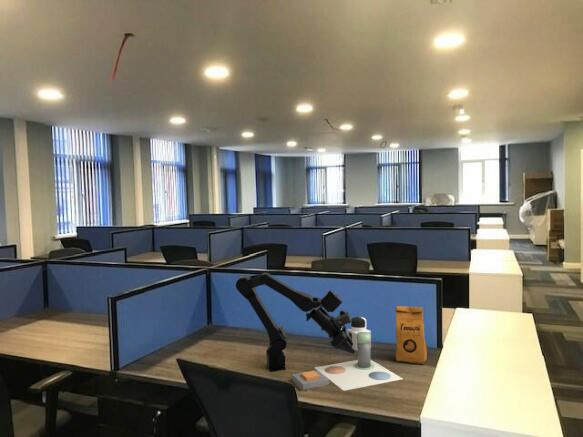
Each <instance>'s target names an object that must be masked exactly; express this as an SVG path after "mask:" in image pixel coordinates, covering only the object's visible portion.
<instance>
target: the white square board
mask: <svg viewBox="0 0 583 437" xmlns="http://www.w3.org/2000/svg"><path fill="white" fill-rule="evenodd" d="M314 369H315V370H318V371H319V372H320V373H322V374H323V375H324V376H325V377H327V378H328V379H329V381H331V382H332V383H333V384H334V385H336V386H337V387H338V388H339V389H341V390H342V391H343V392H344V391H350V390H355V389H359V388H360V389H361V388H364V387H365V388H366V387H372V386H375V385H380V384H384V383H390V382H394V381H399V380H403V379H404V378H402V377H401V376H399V375H397V374H396V373H394V372H392V371H390V370H389V369H388V368H386V367H384V366H382V365H381V364H379V363H377V362H375V361H373V360H372V359H371V367H369V368H360V367H358V359H356V360H351V361H349V360H348V361H344V362H338V363H333V364H327V365H322V366H321V365H320V366H316V367H315V366H314Z"/></svg>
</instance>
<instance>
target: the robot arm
mask: <svg viewBox="0 0 583 437" xmlns="http://www.w3.org/2000/svg"><path fill="white" fill-rule="evenodd" d="M235 282H236V283H235V289H236V290H237V292H238V293H240V294H241V296H242V297H243V298H245V299H246V300H247V301H248V302H249V304H250V306H251V307H252V308H253V310H254V312H255V313H256V315H257V317H258V318H259V320H260V322H261V324H262V325H263V328H265V330H266V333H267V336H268V339H269V343H268V345H267V347H266V364H265V366H264V367H265V368H266V369H267V370H268V371H269V372H276V371H282V370H286V369H287V367H286V355H285V352H284V350H285V349H286V348H287V345H288V340H289V338H288V332H286V330H285V328H284V326H283V325H281V326H278V325H277V323H275V321H274V319H273V318H272V316H271V314H270V313H269V311H268V309H267V307H266V306H265V304H264V303H263V301H262V300H261V297H260V296H259V294H258V292H257V289H256V288H257V287H260V286H267V287H268V288H270V289H271V290H273V291H274V292H277V293H279V294H281V295H282V296H284V297H285V298H287V299H288V300H290V302H292V303H293V304H294V305H295V306H296V307H297V308H298V309H299V310H301V311H302V312H304V313H305V316H306V317H305V318H306V322H309V320H311V319H312V320H313V321H314V322H315V324H317V326H319V327H320V329H321V331H323V332H325V333H326V334H327V335H328V337H329V338H330V345H331V346H332V347H333V348H334V349H338V350H342V351H344V352H348V353H350V354H353V355H354V354H355V352H356V350H354V349H353V348H352V347H351V346H352V345H353V342H352V341H351V339H350V338H349V336H348V335H347V327H346V325H347V324H351V322H352V317H351V315H350V313H349V311H345V310H343V309H342V310H340V311H339V314H338V315H337V316H335V317H334V315H330V314H329V313H334V312H335V311H336V310H337V309H338V308H339V307H340V305H341V304H343V302H344V301H343V300H342V298H341V297H340V296H339V295H338V294H336V293H335V292H334V291H332V290H331V289H329V290H328V291H327V292H326V294H324V296H323V297H322V298H321V297H313V296H312V295H311V294H310V293H306V292H303V291H302V290H301V291H300V290H297V289H294V288H292V287H291V286H290V285H288V284H286V283H284V282H283V281H281V280H279V279H277V278H276V277H274V275H273V276H272V275H271V274H270V273H268V272H263V273H260V274H254V275H246V274H245V275H242V276H240V277H239V278H238V279H237V281H235Z"/></svg>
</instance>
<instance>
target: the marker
mask: <svg viewBox="0 0 583 437" xmlns="http://www.w3.org/2000/svg"><path fill="white" fill-rule="evenodd" d="M370 342H371V343H372V333H371V334H370V333H368V332H359V333H357V353H356V354H357V358H356V359H357V360H358V367H360V368H369V367H371V360H372V358H371V357H372V356H371V355H372V354H371V348H370Z"/></svg>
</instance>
